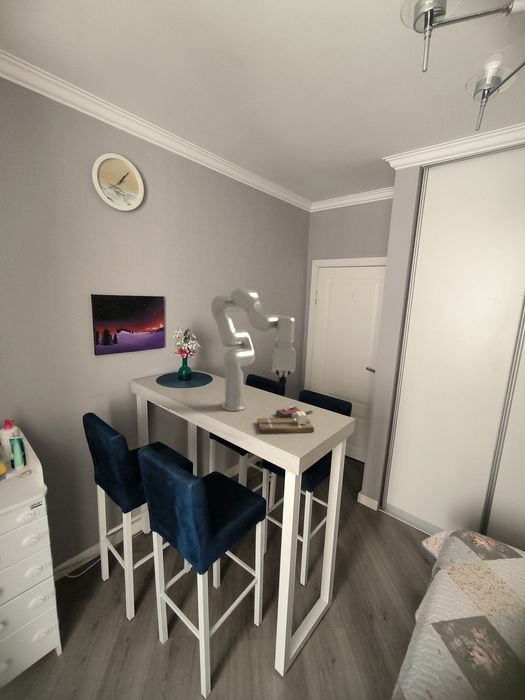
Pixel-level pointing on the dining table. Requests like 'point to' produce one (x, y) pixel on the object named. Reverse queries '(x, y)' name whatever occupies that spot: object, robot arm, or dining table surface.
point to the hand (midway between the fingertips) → (282, 384)
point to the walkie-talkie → (289, 412)
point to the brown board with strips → (283, 425)
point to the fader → (301, 417)
